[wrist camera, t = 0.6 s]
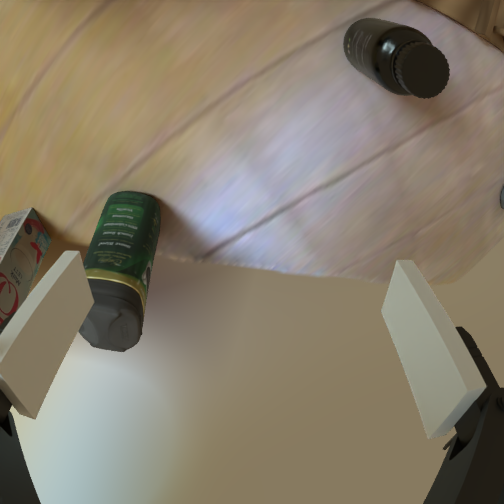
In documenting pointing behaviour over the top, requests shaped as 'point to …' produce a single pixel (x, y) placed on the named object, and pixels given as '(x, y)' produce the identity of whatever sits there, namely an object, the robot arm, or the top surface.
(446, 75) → the supplement bottle
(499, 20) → the dish rack
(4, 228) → the juice carton
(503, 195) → the moka pot
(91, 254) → the coffee jar
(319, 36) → the top surface
